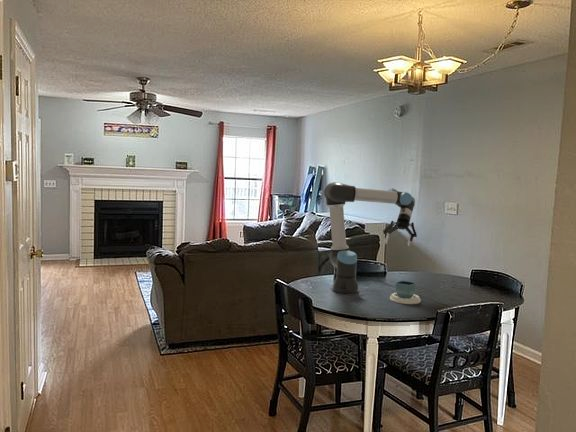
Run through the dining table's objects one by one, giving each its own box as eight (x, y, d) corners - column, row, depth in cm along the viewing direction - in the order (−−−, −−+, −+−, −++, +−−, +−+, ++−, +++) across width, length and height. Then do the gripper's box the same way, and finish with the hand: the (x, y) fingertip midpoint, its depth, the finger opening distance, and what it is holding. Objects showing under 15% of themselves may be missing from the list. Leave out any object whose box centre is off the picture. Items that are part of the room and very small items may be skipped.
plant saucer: (403, 305, 267) (403, 300, 267) (383, 297, 282) (383, 293, 282) (427, 302, 275) (427, 298, 275) (406, 295, 290) (406, 291, 290)
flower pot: (401, 295, 285) (401, 280, 284) (415, 298, 280) (416, 282, 279) (394, 298, 278) (395, 282, 277) (409, 301, 273) (409, 285, 272)
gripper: (425, 222, 303) (418, 249, 291) (385, 219, 314) (377, 245, 302) (424, 214, 297) (417, 241, 285) (383, 211, 308) (375, 237, 296)
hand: (396, 243), depth 293 cm, fingers open, 13 cm apart
